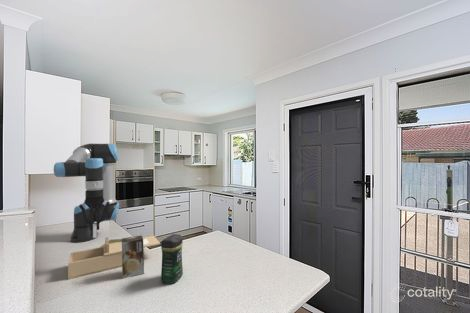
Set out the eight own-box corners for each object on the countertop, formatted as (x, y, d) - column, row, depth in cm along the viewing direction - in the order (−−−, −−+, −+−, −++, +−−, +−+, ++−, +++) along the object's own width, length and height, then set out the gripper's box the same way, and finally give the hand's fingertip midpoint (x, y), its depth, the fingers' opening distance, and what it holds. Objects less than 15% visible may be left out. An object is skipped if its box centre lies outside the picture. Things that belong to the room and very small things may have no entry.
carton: (95, 257, 122) (95, 249, 123) (110, 245, 138) (110, 239, 139) (111, 256, 123) (111, 248, 123) (123, 245, 139) (123, 238, 139)
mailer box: (71, 267, 110) (71, 252, 110) (128, 254, 124) (128, 241, 124) (68, 279, 98) (68, 263, 99) (132, 264, 112) (132, 250, 112)
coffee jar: (175, 285, 92) (174, 240, 93) (158, 283, 94) (157, 239, 95) (185, 274, 102) (185, 233, 102) (170, 272, 104) (169, 232, 104)
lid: (103, 246, 118) (103, 237, 118) (154, 236, 132) (154, 228, 132) (104, 255, 106) (104, 246, 106) (160, 244, 120) (160, 235, 120)
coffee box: (142, 268, 108) (142, 234, 109) (144, 273, 103) (144, 238, 103) (121, 272, 104) (121, 238, 104) (121, 279, 98) (121, 242, 99)
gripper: (78, 191, 104) (78, 241, 104) (110, 189, 111) (110, 236, 111) (78, 189, 110) (79, 237, 110) (109, 187, 117) (109, 232, 117)
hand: (94, 236), depth 110 cm, fingers closed
